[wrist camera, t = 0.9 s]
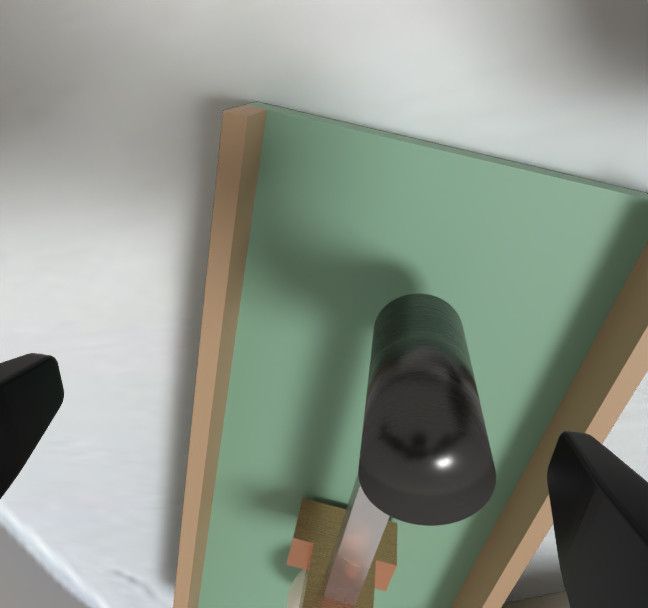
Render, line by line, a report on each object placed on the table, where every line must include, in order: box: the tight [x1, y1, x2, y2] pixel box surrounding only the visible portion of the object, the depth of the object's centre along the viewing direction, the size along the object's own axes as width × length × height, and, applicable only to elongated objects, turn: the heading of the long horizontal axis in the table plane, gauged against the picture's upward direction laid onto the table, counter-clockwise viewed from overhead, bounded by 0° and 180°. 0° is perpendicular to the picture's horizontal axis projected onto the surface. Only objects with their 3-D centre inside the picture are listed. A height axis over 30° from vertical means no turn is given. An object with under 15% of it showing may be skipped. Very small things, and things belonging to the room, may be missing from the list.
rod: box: [286, 293, 496, 608], centre depth 19 cm, size 5×16×9 cm, turn 168°
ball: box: [287, 569, 306, 608], centre depth 26 cm, size 4×4×4 cm
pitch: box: [173, 102, 648, 608], centre depth 24 cm, size 16×31×4 cm, turn 168°
